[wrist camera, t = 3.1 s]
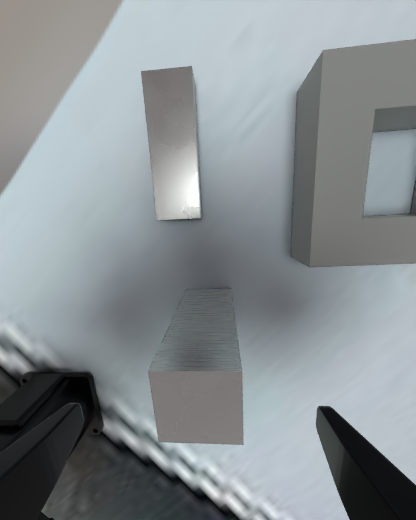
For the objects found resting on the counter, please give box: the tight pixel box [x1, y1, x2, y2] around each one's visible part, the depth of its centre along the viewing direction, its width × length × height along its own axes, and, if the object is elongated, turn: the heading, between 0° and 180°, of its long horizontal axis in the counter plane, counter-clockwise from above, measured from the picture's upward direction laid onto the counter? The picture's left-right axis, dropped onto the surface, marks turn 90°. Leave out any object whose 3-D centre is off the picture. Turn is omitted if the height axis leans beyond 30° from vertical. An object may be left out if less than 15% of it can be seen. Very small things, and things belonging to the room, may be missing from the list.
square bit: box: [148, 288, 244, 445], centre depth 11 cm, size 3×3×8 cm
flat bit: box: [141, 66, 202, 220], centre depth 12 cm, size 8×3×2 cm, turn 3°
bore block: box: [291, 39, 416, 267], centre depth 11 cm, size 10×10×3 cm
